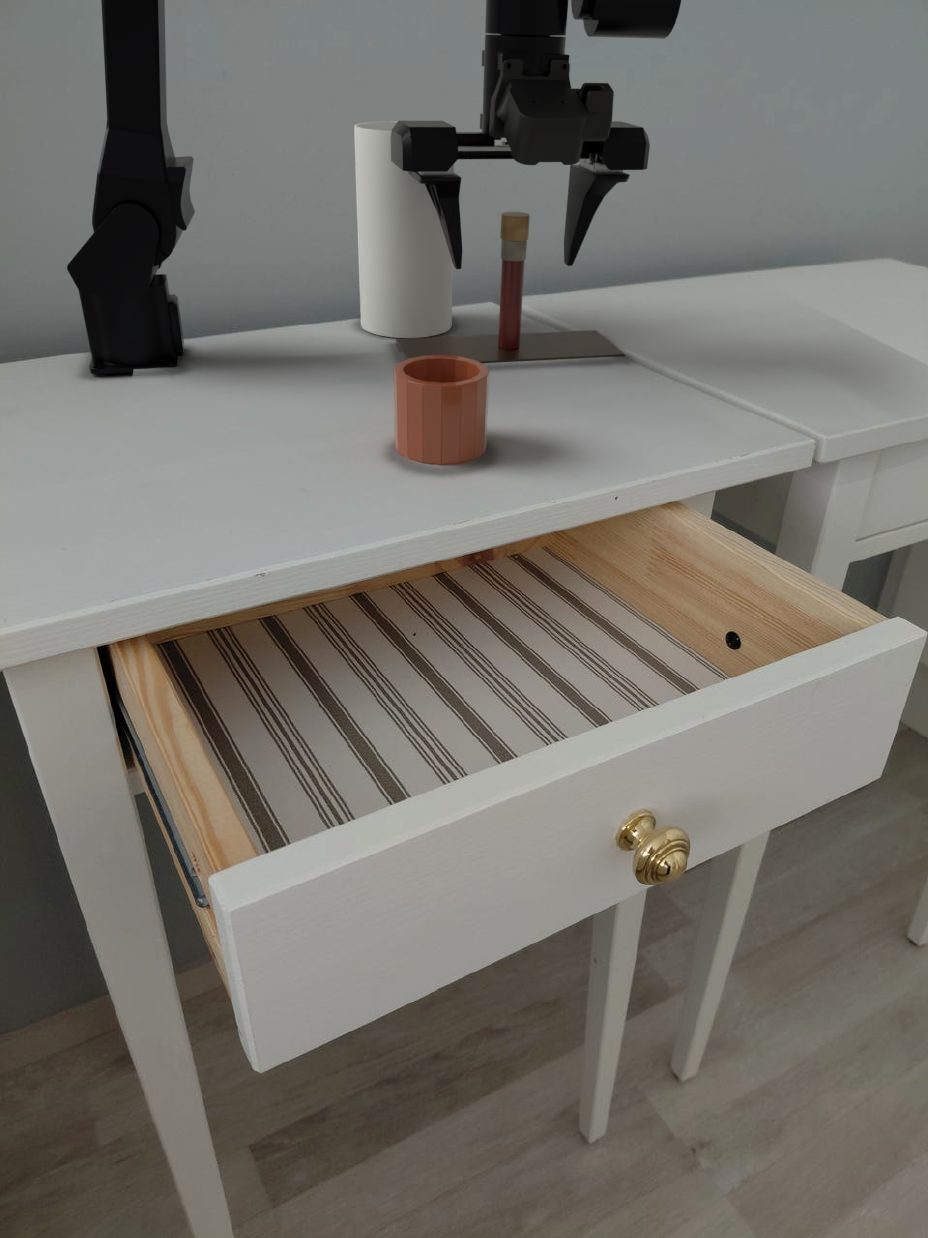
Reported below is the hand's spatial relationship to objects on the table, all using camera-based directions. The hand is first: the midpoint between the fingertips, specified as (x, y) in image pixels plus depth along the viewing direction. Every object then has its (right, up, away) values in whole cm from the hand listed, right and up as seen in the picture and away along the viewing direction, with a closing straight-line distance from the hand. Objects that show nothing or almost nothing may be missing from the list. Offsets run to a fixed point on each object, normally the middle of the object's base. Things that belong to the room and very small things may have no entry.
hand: (513, 266), depth 74 cm
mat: (0, -6, +4) cm, 7 cm away
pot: (-5, -17, -14) cm, 23 cm away
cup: (-9, -2, +10) cm, 14 cm away
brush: (0, -5, +4) cm, 6 cm away
